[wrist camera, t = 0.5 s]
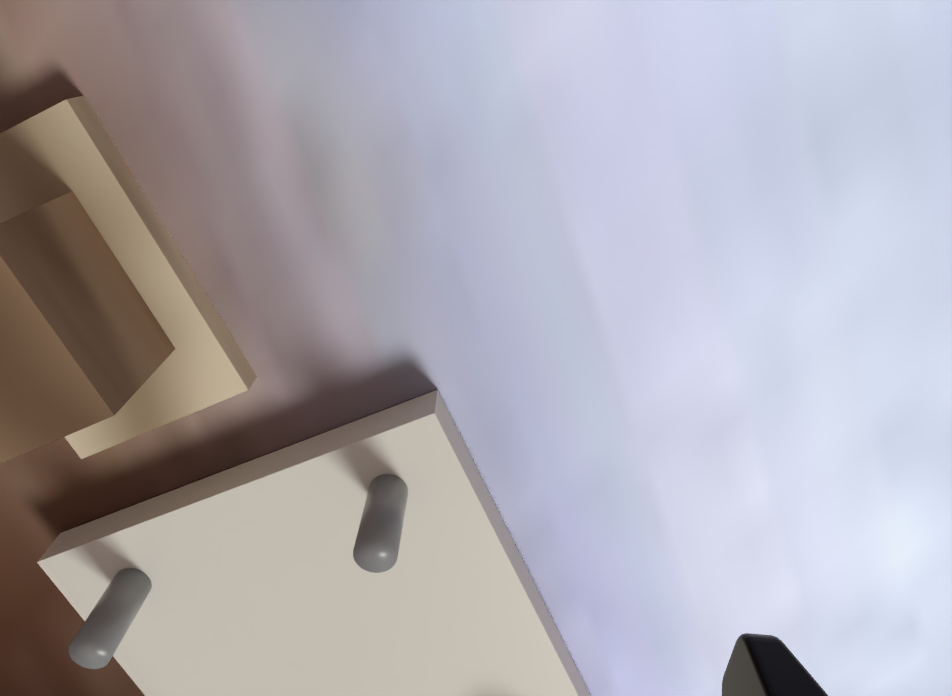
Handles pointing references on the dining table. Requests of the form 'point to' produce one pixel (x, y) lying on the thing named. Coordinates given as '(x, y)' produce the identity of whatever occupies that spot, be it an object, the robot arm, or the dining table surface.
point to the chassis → (319, 576)
